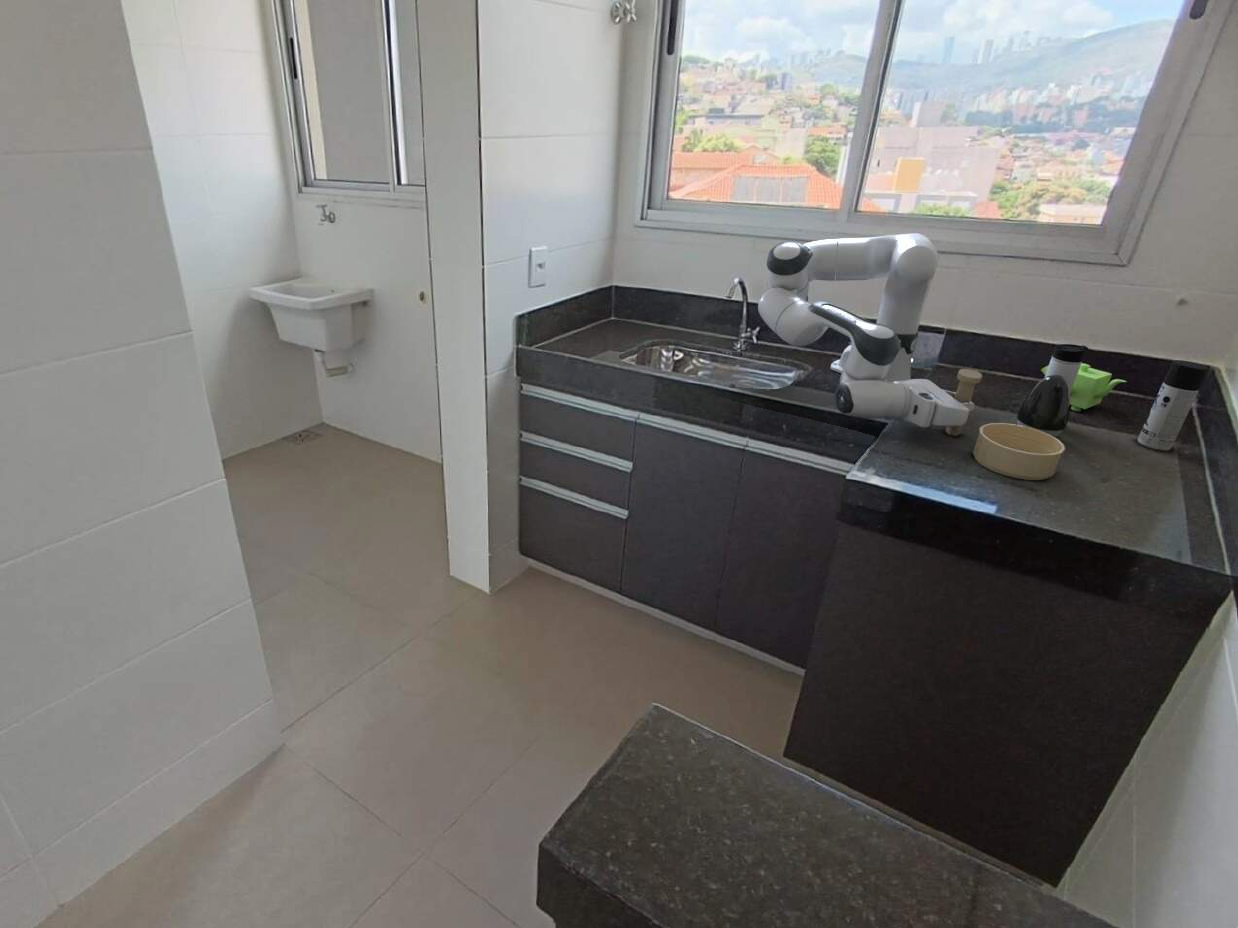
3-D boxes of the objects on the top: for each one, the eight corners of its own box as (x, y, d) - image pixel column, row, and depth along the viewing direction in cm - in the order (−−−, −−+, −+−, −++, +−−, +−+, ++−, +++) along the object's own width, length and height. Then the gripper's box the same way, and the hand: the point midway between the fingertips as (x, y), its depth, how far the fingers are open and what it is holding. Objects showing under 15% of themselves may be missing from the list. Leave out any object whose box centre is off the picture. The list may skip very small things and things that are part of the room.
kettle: (1112, 417, 174) (1129, 376, 169) (1054, 412, 176) (1069, 371, 171) (1085, 397, 188) (1100, 358, 183) (1031, 392, 189) (1044, 353, 184)
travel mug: (1063, 429, 166) (1093, 350, 157) (1034, 426, 167) (1062, 347, 158) (1054, 419, 171) (1082, 343, 162) (1026, 416, 172) (1052, 340, 163)
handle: (941, 436, 158) (958, 375, 151) (941, 426, 163) (958, 367, 157) (963, 440, 156) (982, 379, 150) (963, 430, 162) (981, 371, 155)
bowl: (960, 461, 146) (968, 436, 144) (986, 440, 157) (994, 417, 154) (1042, 488, 137) (1052, 462, 134) (1063, 465, 147) (1073, 440, 144)
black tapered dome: (1015, 440, 158) (1036, 378, 151) (1009, 424, 167) (1029, 365, 160) (1064, 448, 155) (1088, 386, 148) (1055, 431, 164) (1077, 372, 157)
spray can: (1140, 436, 164) (1175, 357, 155) (1173, 446, 160) (1211, 365, 150) (1133, 444, 159) (1169, 363, 150) (1168, 454, 155) (1207, 371, 146)
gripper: (886, 396, 166) (940, 397, 167) (925, 430, 148) (985, 431, 149) (892, 371, 163) (947, 373, 164) (933, 403, 145) (994, 405, 146)
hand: (966, 401), depth 156 cm, fingers open, 4 cm apart
